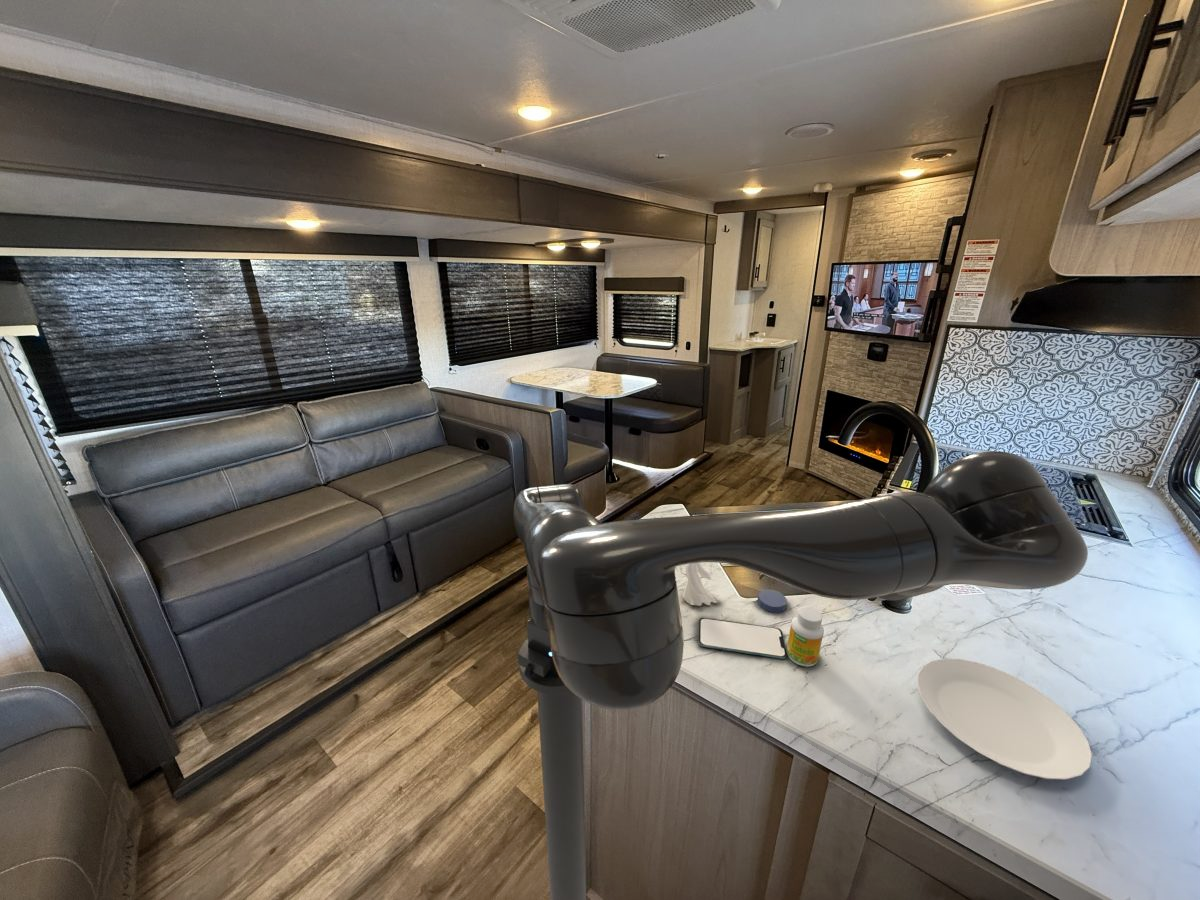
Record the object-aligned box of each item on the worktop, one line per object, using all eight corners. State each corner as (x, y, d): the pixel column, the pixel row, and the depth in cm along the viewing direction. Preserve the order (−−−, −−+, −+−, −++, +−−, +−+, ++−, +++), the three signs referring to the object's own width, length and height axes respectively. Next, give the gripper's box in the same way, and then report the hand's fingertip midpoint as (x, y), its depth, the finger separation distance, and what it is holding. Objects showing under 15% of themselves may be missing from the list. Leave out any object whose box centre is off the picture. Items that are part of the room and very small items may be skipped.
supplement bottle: (784, 661, 83) (792, 618, 80) (787, 641, 88) (794, 600, 84) (817, 671, 81) (826, 627, 78) (818, 650, 86) (827, 608, 82)
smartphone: (698, 647, 87) (787, 660, 83) (698, 644, 86) (788, 658, 83) (698, 618, 94) (781, 630, 90) (698, 616, 94) (781, 627, 90)
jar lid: (766, 591, 102) (767, 585, 101) (791, 604, 98) (792, 599, 97) (751, 602, 99) (752, 596, 98) (776, 616, 94) (777, 610, 94)
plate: (947, 651, 86) (950, 641, 85) (1105, 740, 69) (1111, 729, 68) (889, 703, 75) (892, 692, 74) (1058, 823, 59) (1065, 811, 58)
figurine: (684, 584, 104) (687, 538, 100) (719, 592, 101) (724, 546, 97) (676, 605, 98) (679, 557, 93) (714, 614, 95) (719, 565, 91)
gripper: (966, 533, 51) (898, 561, 66) (831, 522, 53) (794, 552, 68) (981, 603, 48) (906, 616, 63) (836, 588, 50) (797, 604, 65)
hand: (848, 583), depth 65 cm, fingers open, 8 cm apart
